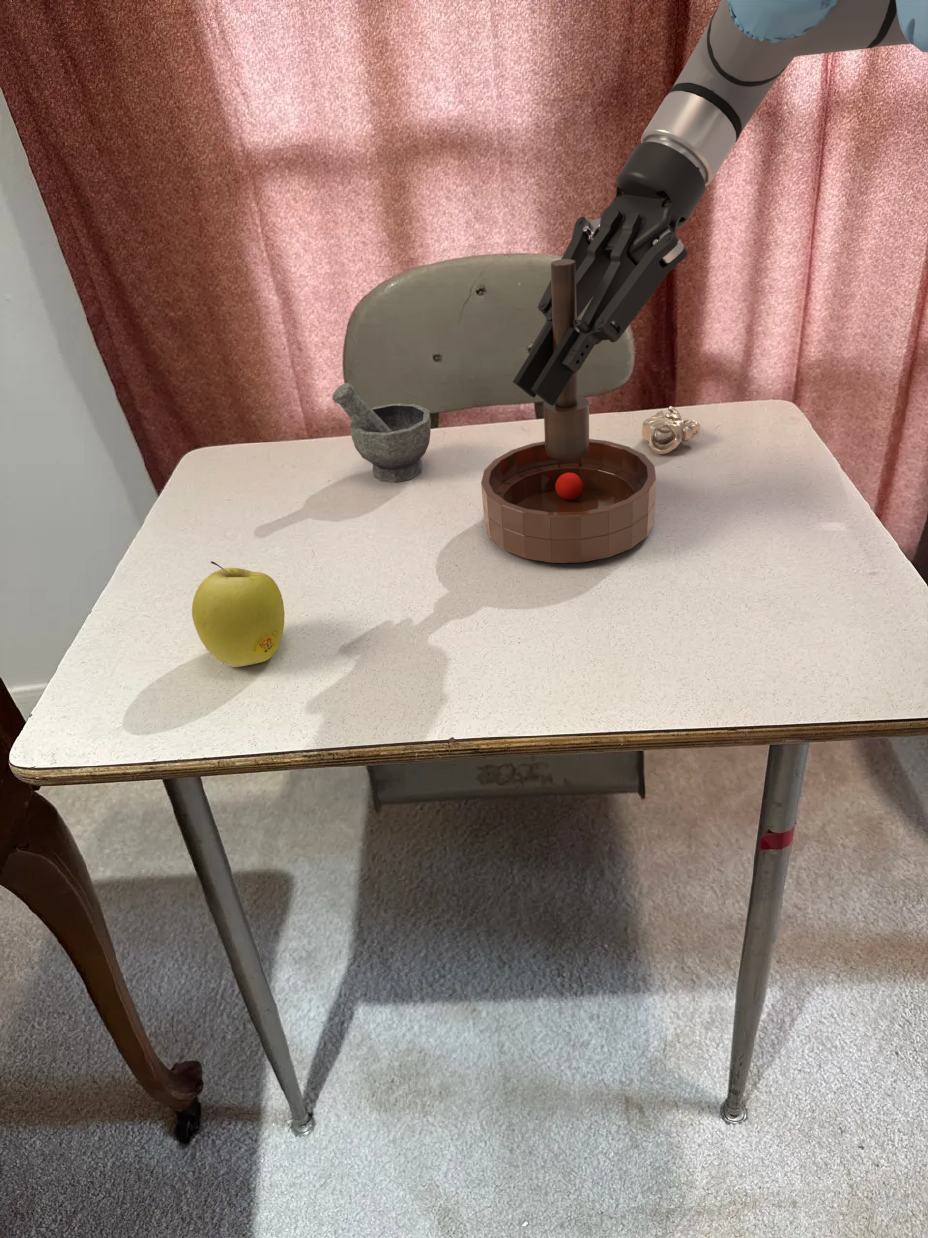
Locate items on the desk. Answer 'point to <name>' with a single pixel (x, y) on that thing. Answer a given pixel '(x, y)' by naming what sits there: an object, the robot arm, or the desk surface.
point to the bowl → (569, 503)
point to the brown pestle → (570, 411)
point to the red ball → (569, 486)
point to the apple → (239, 616)
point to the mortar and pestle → (387, 434)
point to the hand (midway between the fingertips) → (533, 393)
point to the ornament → (668, 430)
